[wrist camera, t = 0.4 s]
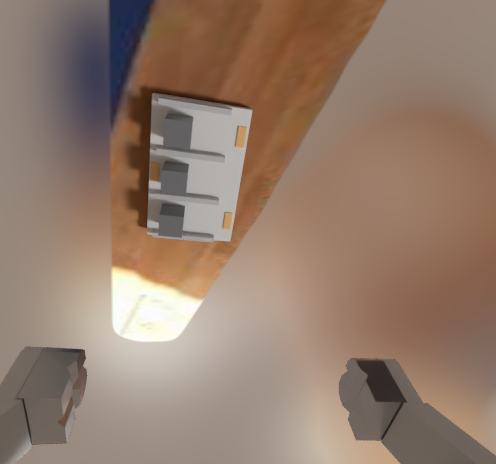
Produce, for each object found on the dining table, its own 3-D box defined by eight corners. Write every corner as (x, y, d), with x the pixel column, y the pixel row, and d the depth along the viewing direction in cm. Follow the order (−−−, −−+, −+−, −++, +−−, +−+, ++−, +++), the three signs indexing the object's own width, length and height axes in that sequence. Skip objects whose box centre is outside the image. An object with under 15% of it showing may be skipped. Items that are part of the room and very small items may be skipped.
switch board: (153, 92, 48) (150, 95, 46) (251, 108, 50) (253, 111, 48) (148, 229, 58) (145, 237, 56) (229, 237, 61) (230, 245, 58)
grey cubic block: (164, 161, 51) (161, 169, 48) (189, 164, 52) (187, 173, 48) (163, 183, 53) (160, 193, 49) (186, 186, 54) (185, 196, 50)
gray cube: (167, 113, 48) (164, 118, 45) (193, 117, 49) (192, 122, 45) (166, 138, 50) (163, 145, 46) (191, 142, 50) (189, 149, 47)
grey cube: (162, 203, 55) (159, 214, 51) (185, 206, 55) (183, 217, 52) (161, 223, 56) (158, 235, 53) (183, 225, 57) (181, 237, 53)
